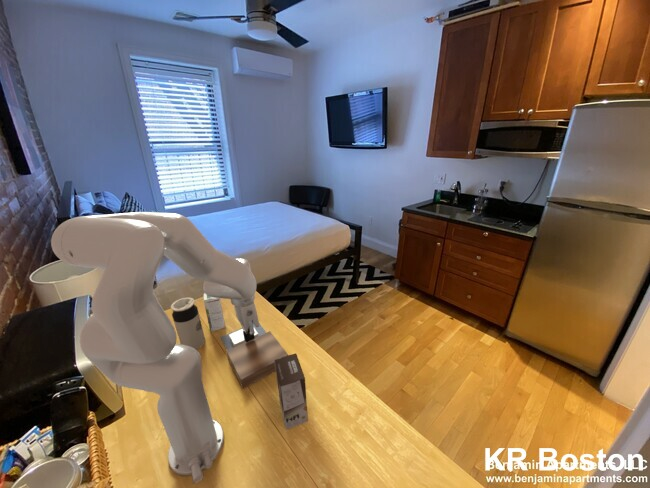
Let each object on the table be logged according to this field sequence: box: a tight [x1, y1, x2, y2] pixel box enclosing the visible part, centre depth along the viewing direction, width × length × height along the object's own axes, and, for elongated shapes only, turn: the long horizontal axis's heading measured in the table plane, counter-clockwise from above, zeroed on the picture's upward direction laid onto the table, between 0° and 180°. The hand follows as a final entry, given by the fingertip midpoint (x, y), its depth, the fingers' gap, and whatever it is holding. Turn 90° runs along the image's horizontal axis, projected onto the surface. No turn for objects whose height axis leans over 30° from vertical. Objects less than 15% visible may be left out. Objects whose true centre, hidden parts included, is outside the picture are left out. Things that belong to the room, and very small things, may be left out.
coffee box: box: [274, 353, 309, 430], centre depth 73 cm, size 9×6×16 cm
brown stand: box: [226, 330, 289, 390], centre depth 91 cm, size 14×16×4 cm
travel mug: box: [170, 297, 206, 351], centre depth 97 cm, size 8×8×18 cm
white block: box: [229, 328, 259, 347], centre depth 101 cm, size 6×9×2 cm, turn 126°
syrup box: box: [203, 293, 226, 332], centre depth 106 cm, size 6×6×14 cm
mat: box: [220, 322, 267, 351], centre depth 102 cm, size 12×15×1 cm
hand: (249, 339), depth 95 cm, fingers closed
